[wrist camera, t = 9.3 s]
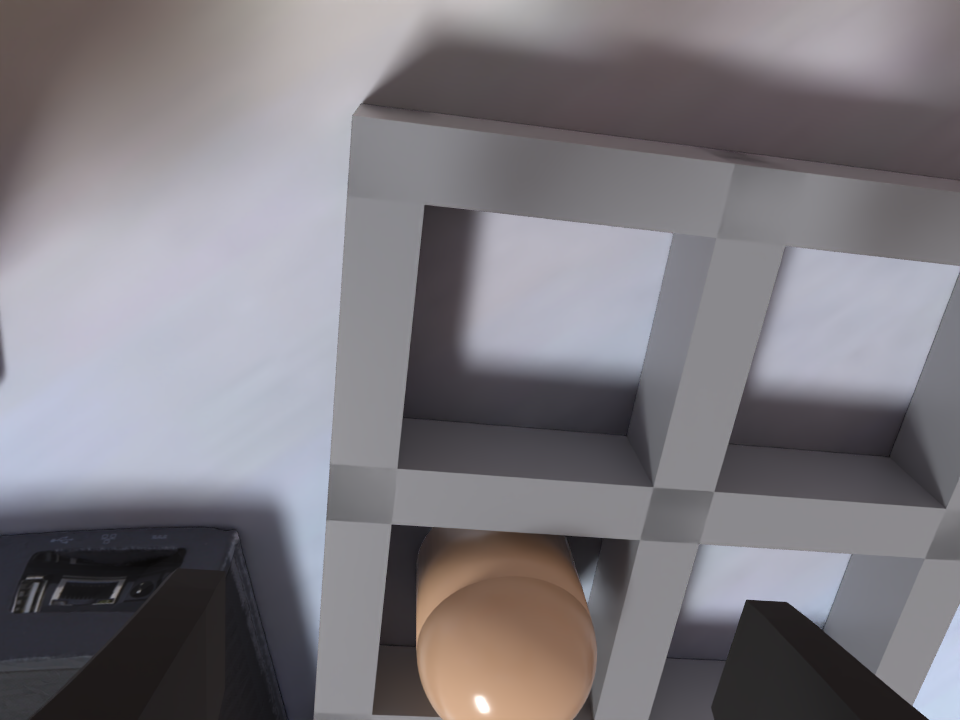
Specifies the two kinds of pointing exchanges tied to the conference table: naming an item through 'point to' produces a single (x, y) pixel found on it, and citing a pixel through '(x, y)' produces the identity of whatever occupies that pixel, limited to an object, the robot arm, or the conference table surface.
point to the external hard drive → (117, 610)
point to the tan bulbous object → (502, 626)
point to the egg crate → (634, 410)
